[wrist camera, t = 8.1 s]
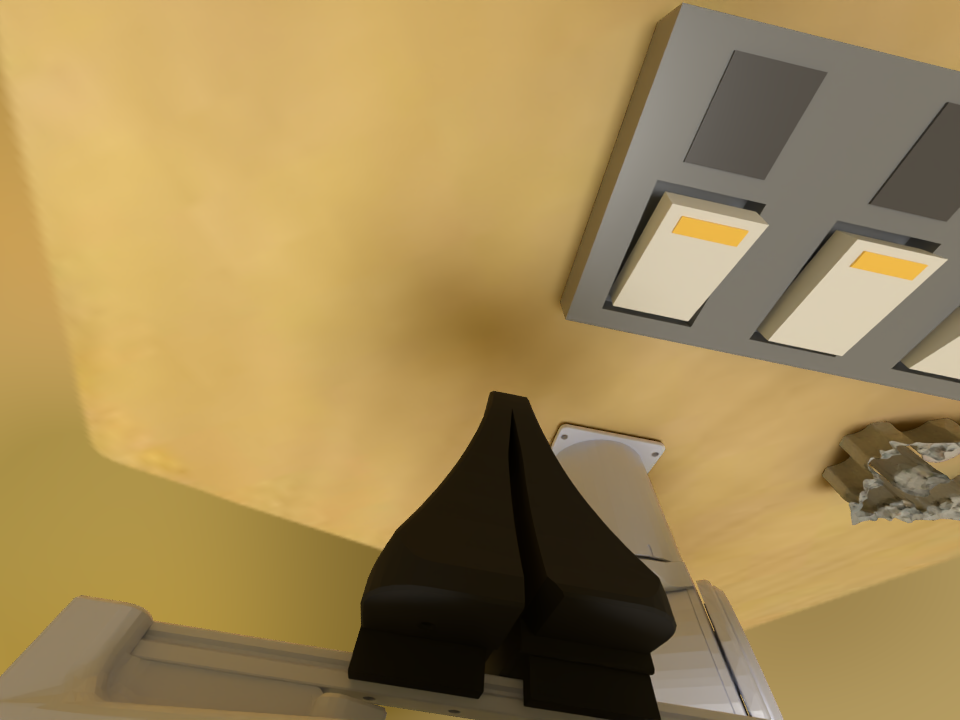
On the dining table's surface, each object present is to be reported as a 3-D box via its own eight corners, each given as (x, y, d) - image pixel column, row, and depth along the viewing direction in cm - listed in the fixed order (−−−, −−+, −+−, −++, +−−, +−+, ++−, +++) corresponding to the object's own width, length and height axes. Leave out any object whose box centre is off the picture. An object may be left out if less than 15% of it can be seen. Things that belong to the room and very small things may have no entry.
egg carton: (1037, 408, 22) (1135, 458, 18) (960, 482, 26) (1029, 535, 22) (851, 414, 23) (911, 462, 20) (805, 484, 27) (849, 534, 24)
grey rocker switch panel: (938, 380, 21) (984, 406, 19) (560, 301, 20) (565, 320, 18) (1208, 157, 14) (1323, 160, 12) (657, 21, 13) (683, 1, 11)
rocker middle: (825, 342, 18) (843, 357, 17) (754, 327, 18) (768, 341, 17) (921, 249, 15) (950, 260, 14) (836, 229, 15) (859, 240, 14)
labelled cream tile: (681, 306, 18) (688, 322, 17) (609, 291, 18) (612, 306, 17) (755, 211, 14) (770, 226, 13) (665, 191, 14) (673, 204, 13)
